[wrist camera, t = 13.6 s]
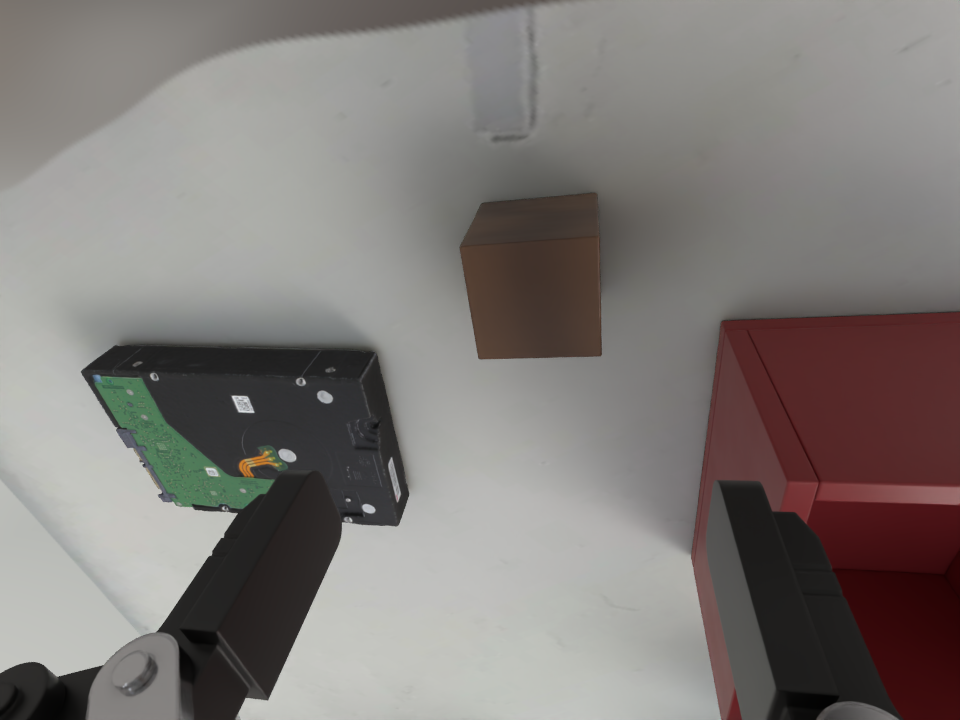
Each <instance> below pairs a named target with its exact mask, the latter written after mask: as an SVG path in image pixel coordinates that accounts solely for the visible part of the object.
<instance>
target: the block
mask: <svg viewBox="0 0 960 720" xmlns="http://www.w3.org/2000/svg"><path fill="white" fill-rule="evenodd" d="M460 254H461V259H462V265H463V271H464V277H465V283H466V289H467V294H468V300H469V306H470V312H471V318H472V323H473V329H474V335H475V341H476V347H477V353H478V358H479V359H513V358H553V357H593V356H601V355H602V342H601V282H600V233H599V215H598V197H597V193H587V194H576V195H565V196H554V197H543V198H532V199H521V200H510V201H499V202H488V203H482V204H481V205H480V207H479V209H478V211H477V213H476V215H475V217H474V219H473V221H472V223H471V225H470V227H469V229H468V231H467V233H466V235H465V237H464V239H463V241H462V243H461V245H460Z"/></svg>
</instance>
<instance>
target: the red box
mask: <svg viewBox="0 0 960 720" xmlns="http://www.w3.org/2000/svg"><path fill="white" fill-rule="evenodd" d="M715 480H744V481H759V482H760V483H761V484H762V486H763V488H764V490H765V493H766V495H767V498H768V501H769V504H770V506H771V509H772V511H779V512H796V513H797V515H798V516H799V517H800V518H801V519H802V520H803V521H804V522H805V523H806V524H807V525H808V526H809V527H810V528H811V529H812V530H813V531H814V532H815V533H816V534H817V536H818V537H819V538H820V540H821V543H822V545H823V547H824V550H825V552H826V554H827V557H828V559H829V561H830V563H831V566H832V572H834V573H835V575H836V577H837V579H838V582H839V584H840V586H841V589H842V594H843V597H845V598H846V600H847V602H848V605H849V607H850V609H851V612H852V614H853V616H854V618H855V621H856V623H857V625H858V628H859V630H860V632H861V635H862V637H863V639H864V641H865V644H866V646H867V648H868V651H869V653H870V655H871V658H872V660H873V662H874V664H875V667H876V669H877V671H878V674H879V676H880V678H881V680H882V683H883V685H884V687H885V690H886V692H887V694H888V696H889V698H890V700H891V702H892V704H893V705H894V707H895V708H896V710H897V711H898V713H899V714H900V716H901V717H902V718H903V719H904V720H960V312H948V313H921V314H895V315H868V316H841V317H815V318H788V319H761V320H734V321H722V323H721V328H720V336H719V344H718V352H717V360H716V367H715V375H714V383H713V391H712V399H711V407H710V414H709V422H708V430H707V438H706V446H705V454H704V461H703V469H702V477H701V485H700V493H699V501H698V508H697V516H696V524H695V532H694V540H693V548H692V556H691V559H692V564H693V567H694V575H695V580H696V586H697V591H698V597H699V602H700V607H701V613H702V618H703V623H704V629H705V634H706V639H707V645H708V650H709V656H710V661H711V666H712V672H713V677H714V682H715V688H716V693H717V698H718V704H719V709H720V715H721V720H742V717H741V713H740V708H739V703H738V699H737V694H736V690H735V685H734V680H733V676H732V671H731V667H730V662H729V657H728V653H727V648H726V644H725V639H724V634H723V630H722V625H721V621H720V616H719V611H718V607H717V602H716V598H715V593H714V589H713V584H712V579H711V575H710V570H709V565H708V559H707V550H706V531H707V524H708V517H709V509H710V502H711V495H712V488H713V483H714V481H715Z"/></svg>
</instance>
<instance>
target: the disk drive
mask: <svg viewBox="0 0 960 720" xmlns="http://www.w3.org/2000/svg"><path fill="white" fill-rule="evenodd" d="M81 373H82V375H83V377H84V378H85V380H86V381H87V383H88V385H89V386H90V388H91V389H92V391H93V393H94V394H95V395H96V397H97V399H98V401H99V402H100V404H101V405H102V407H103V409H104V410H105V412H106V413H107V415H108V416H109V418H110V420H111V421H112V423H113V425H114V426H115V427H118V428H117V430H116V431H117V433H118V435H119V436H120V437H121V439H122V440H123V442H124V443H125V445H126V447H127V448H133V449H134V451H135V453H136V454H137V456H138V457H139V459H140V462H144V464H143V467H144V468H146V470H147V472H148V473H149V475H150V476H151V478H152V480H153V481H154V483H155V484H156V486H157V487H158V489H161V491H162V494H159V495H158V497H159V498H161V500H162V501H163V502H174V503H175V504H176V506H180V507H193V509H195V510H202V511H220V512H226V511H227V512H231V513H239V512H240V511H241V510H242V509H243V508H244V507H245V506H247V505H248V504H249V503H250V502H251V501H252V500H253V499H255V498H256V497H257V496H258V495H259V494H266V493H267V491H268V490H269V488H270V487H271V485H272V484H273V482H274V481H275V479H276V478H277V476H278V475H279V474H280V473H281V472H282V471H285V470H311V471H319V472H321V473H322V475H323V477H324V479H325V481H326V483H327V486H328V488H329V490H330V493H331V495H332V497H333V500H334V502H335V504H336V507H337V509H338V512H339V514H340V517H341V521H342V522H345V523H348V522H349V523H355V524H361V525H379V526H385V525H388V526H398V525H399V523H400V520H401V518H402V515H403V512H404V509H405V506H406V503H407V500H408V497H409V491H408V487H407V483H406V479H405V473H404V467H403V463H402V459H401V455H400V451H399V447H398V442H397V437H396V434H395V430H394V425H393V420H392V416H391V412H390V407H389V403H388V399H387V395H386V390H385V385H384V381H383V378H382V374H381V371H380V366H379V362H378V356H377V354H376V353H375V352H373V351H371V352H366V353H365V352H363V351H360V350H338V349H299V348H249V347H246V348H242V347H241V348H222V347H207V346H205V347H198V346H193V347H192V346H163V345H152V346H151V345H134V346H130V345H127V346H117V345H115V346H113V347H112V348H111V349H110V350H108V351H107V352H105V353H104V354H103V355H101V356H100V357H98V358H97V359H96V360H94V361H93V362H92V363H90V364H89V365H88V366H87V367H86V368H84V369H83V370H82V371H81Z"/></svg>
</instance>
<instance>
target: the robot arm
mask: <svg viewBox="0 0 960 720" xmlns="http://www.w3.org/2000/svg"><path fill="white" fill-rule="evenodd" d="M341 532H342V521H341V517H340V514H339V512H338V509H337V507H336V504H335V502H334V500H333V497H332V495H331V493H330V490H329V488H328V486H327V483H326V481H325V479H324V477H323V475H322V473H321V472H319V471H311V470H285V471H282V472H281V473H280V474H279V475H278V476H277V478H276V479H275V481H274V482H273V484H272V485H271V487H270V488H269V490H268V491H267V493H266V494H259V495H258V496H257V497H256V498H255V499H253V500H252V501H251V502H250V503H249V504H248V505H247V506H245V507H244V508H243V509H242V510H241V511H240V512H239V513H238V514H237V516H236V517H235V519H234V520H233V522H232V523H231V525H230V526H229V528H228V529H227V530H226V532H225V533H224V534H225V536H224V538H221V539H220V541H219V542H218V544H217V545H216V547H215V548H214V550H213V551H212V552H213V554H212V556H209V557H208V558H207V560H206V561H205V563H204V564H203V566H202V567H201V569H200V570H199V572H198V573H197V575H196V576H195V578H194V579H193V581H192V582H191V584H190V585H189V586H188V588H187V589H186V591H185V592H184V594H183V595H182V597H181V598H180V600H179V601H178V603H177V604H176V606H175V607H174V609H173V610H172V612H171V613H170V614H169V616H168V617H167V619H166V620H165V622H164V623H163V624H162V626H161V627H160V628H159V630H158V631H157V632H156V633H150V634H146V635H143V636H141V637H139V638H136V639H135V640H133V641H131V642H129V643H128V644H126V645H125V646H123V647H122V648H121V649H120V650H118V651H117V652H116V653H115V654H114V655H113V656H112V657H111V658H110V659H109V660H108V661H107V662H106V663H105V664H104V665H102V666H99V667H95V668H91V669H87V670H83V671H79V672H75V673H71V674H67V675H63V676H59V677H56V676H55V675H54V674H53V673H52V672H51V671H50V670H48V669H47V668H46V667H45V666H44V665H42V664H40V663H36V662H28V663H23V664H19V665H17V666H14V667H12V668H10V669H8V670H5V671H4V672H2V673H0V720H240V717H239V715H238V712H239V710H240V708H241V706H242V704H243V702H244V700H245V698H253V699H261V700H268V699H269V697H270V695H271V692H272V690H273V688H274V686H275V684H276V681H277V679H278V677H279V675H280V673H281V670H282V668H283V666H284V664H285V662H286V659H287V657H288V655H289V653H290V651H291V648H292V646H293V644H294V642H295V640H296V638H297V635H298V633H299V631H300V629H301V627H302V624H303V622H304V620H305V618H306V616H307V613H308V611H309V609H310V607H311V605H312V602H313V600H314V598H315V596H316V594H317V591H318V589H319V587H320V585H321V583H322V580H323V578H324V576H325V574H326V572H327V569H328V567H329V565H330V563H331V561H332V558H333V556H334V554H335V552H336V550H337V547H338V545H339V542H340V538H341ZM706 550H707V559H708V565H709V570H710V575H711V579H712V584H713V589H714V593H715V598H716V602H717V607H718V611H719V616H720V621H721V625H722V630H723V634H724V639H725V644H726V648H727V653H728V657H729V662H730V667H731V671H732V676H733V680H734V685H735V690H736V694H737V699H738V703H739V708H740V713H741V717H742V720H904V719H903V718H902V717H901V716H900V714H899V713H898V711H897V710H896V708H895V707H894V705H893V704H892V702H891V700H890V698H889V696H888V694H887V692H886V690H885V687H884V685H883V683H882V680H881V678H880V676H879V674H878V671H877V669H876V667H875V664H874V662H873V660H872V658H871V655H870V653H869V651H868V648H867V646H866V644H865V641H864V639H863V637H862V635H861V632H860V630H859V628H858V625H857V623H856V621H855V618H854V616H853V614H852V612H851V609H850V607H849V605H848V602H847V600H846V598H845V597H843V594H842V589H841V586H840V584H839V582H838V579H837V577H836V575H835V573H834V572H832V566H831V563H830V561H829V559H828V557H827V554H826V552H825V550H824V547H823V545H822V543H821V540H820V538H819V537H818V536H817V534H816V533H815V532H814V531H813V530H812V529H811V528H810V527H809V526H808V525H807V524H806V523H805V522H804V521H803V520H802V519H801V518H800V517H799V516H798V515H797V513H796V512H779V511H772V509H771V506H770V504H769V501H768V498H767V495H766V493H765V490H764V488H763V486H762V484H761V483H760V482H759V481H744V480H715V481H714V483H713V488H712V495H711V502H710V509H709V517H708V524H707V531H706Z"/></svg>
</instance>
